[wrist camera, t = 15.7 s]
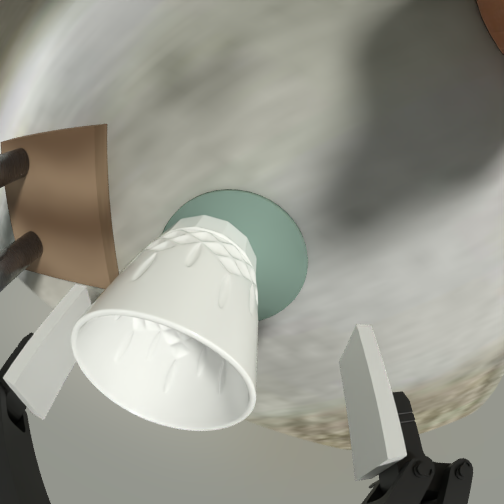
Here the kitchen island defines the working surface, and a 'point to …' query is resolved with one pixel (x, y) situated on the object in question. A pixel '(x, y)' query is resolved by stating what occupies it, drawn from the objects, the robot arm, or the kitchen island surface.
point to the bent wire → (29, 245)
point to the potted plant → (493, 19)
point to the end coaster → (259, 242)
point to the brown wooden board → (66, 204)
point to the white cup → (178, 329)
